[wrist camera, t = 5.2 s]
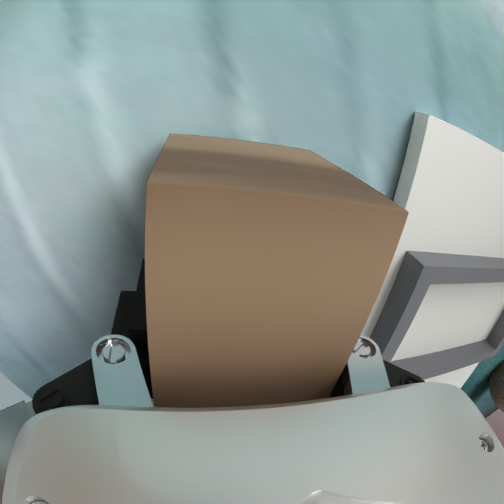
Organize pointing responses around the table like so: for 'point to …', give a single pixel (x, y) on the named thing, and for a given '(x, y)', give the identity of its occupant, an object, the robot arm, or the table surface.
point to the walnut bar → (258, 271)
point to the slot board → (444, 257)
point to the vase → (498, 386)
